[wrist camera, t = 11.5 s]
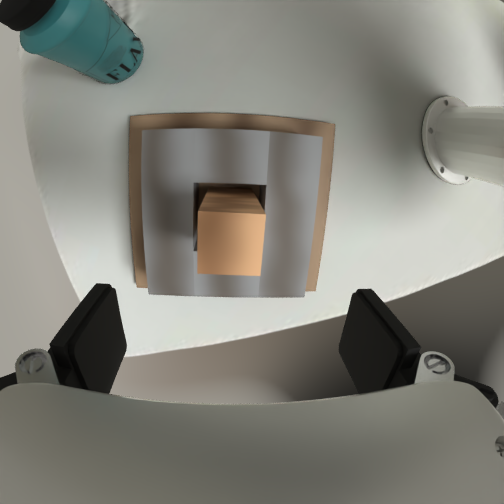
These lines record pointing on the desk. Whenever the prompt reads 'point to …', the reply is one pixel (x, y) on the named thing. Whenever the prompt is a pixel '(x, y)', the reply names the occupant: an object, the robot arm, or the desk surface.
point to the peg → (230, 232)
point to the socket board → (228, 175)
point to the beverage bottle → (76, 36)
